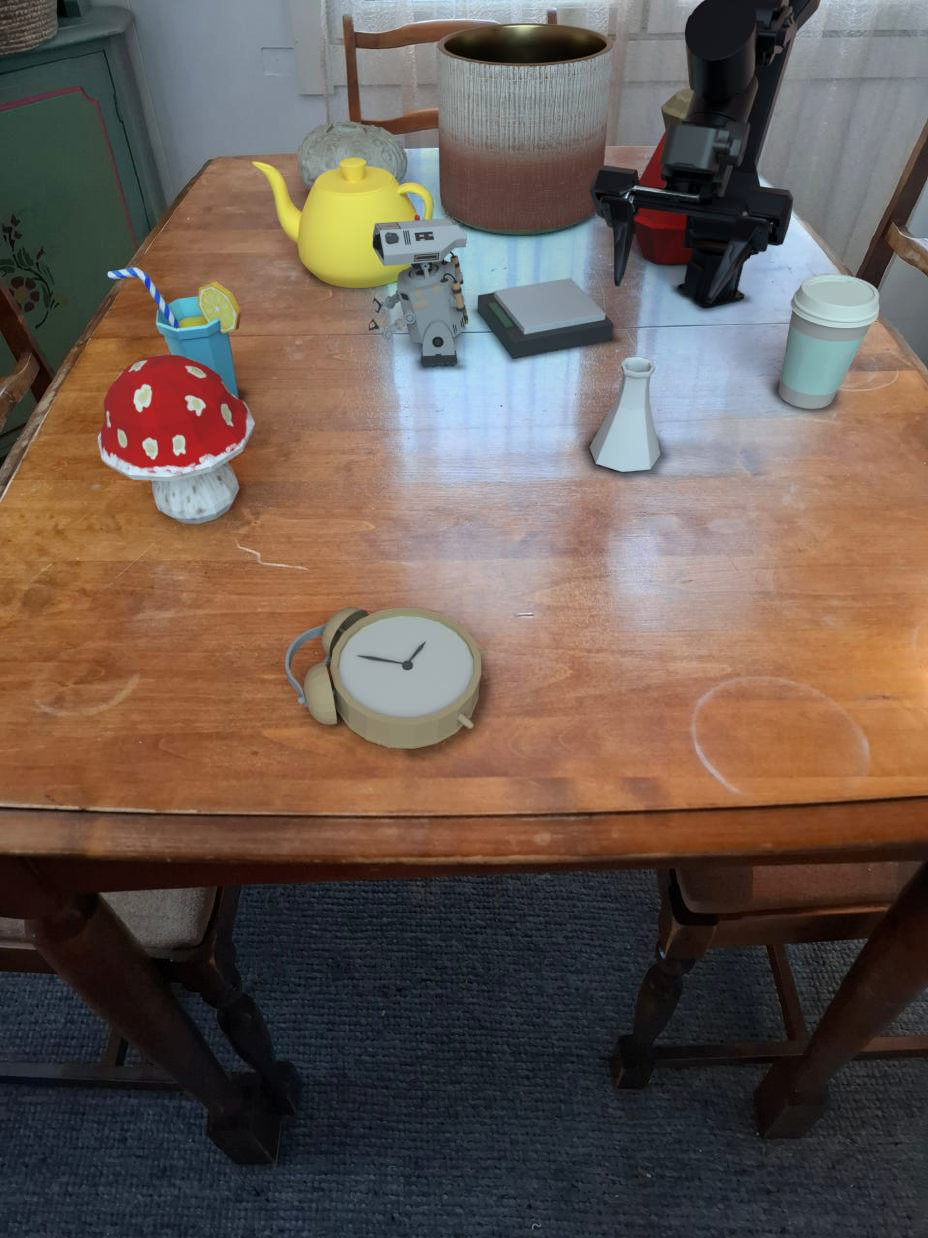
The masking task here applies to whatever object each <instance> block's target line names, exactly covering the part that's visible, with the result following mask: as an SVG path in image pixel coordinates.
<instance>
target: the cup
mask: <svg viewBox="0 0 928 1238" xmlns="http://www.w3.org/2000/svg"><path fill="white" fill-rule="evenodd" d="M107 277H108V279H109V280H110V281H112V280H119V279H128V278H129V279H130V278H135V277H136V278H137V279H139V280H141V282H142V283H143V285H144V286H145V288H146V290H147V291H148V292H149V294H150V295H151V297H152V298H153V300H154V301H155V303H156V305H157V306H158V309H157V310H156V317H155V320H156V321H155V326H156V328H157V330H158V332H159V334H161V335H163V338H164V340H165V343H166V345H167V347H168V350H169V353H170V355H179V356H183V357H186V358H190V359H192V360H194V361H197V362H199V363H201V364H203V365H206V366H207V367H209V368H210V369H212V370H213V371H214V372H216V373H217V374H219V375H220V377H221V379H222V380H223V382H224V383H225V385H226V386H227V388H228V389H229V391H230V392H231V393H232V394H234V395H235V396H236V397H238V398H239V389H238V384H237V383H238V382H237V378H236V370H235V364H234V358H233V352H232V346H231V338H230V334H229V333H231V332H235V331H238V330H240V324H241V317H242V310H241V309H240V306H239V304H238V302H237V301H236V298H235V297H234V294H233V293H232V292H231V290H229V289H227V288H226V287H224V286H222V284H219V282H217V281H213V282H210V283H208V284H204V285H202V286H200V287H198V293H197V294H198V295H197V296H190V297H182V298H177V299H175V300H174V301H171V302H169V303H167V302H166V300H165V299H164V297H163V296H162V294H161V293H160V291H159V290H158V288H157V286H156V285H155V284H154V282H153V280H152V279H151V277H150V276H149V275H148V274H147V273H146V272H145V271H144V270H141V269H140V268H139V267H137V266H136V267H130V268H123V269H117V270H111V271H107ZM239 399H240V398H239Z"/></svg>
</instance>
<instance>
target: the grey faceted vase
mask: <svg viewBox="0 0 928 1238" xmlns="http://www.w3.org/2000/svg"><path fill="white" fill-rule="evenodd" d="M620 368H621V371H622V375H621V383H620V386H619V389H618V391H617V395H616V397H615V400H614V401H613V403H612V406H611V407H610V410H609V411H608V413H607V414H606V417H605V419H604V421H603V423H602V424H601V426H600V427H599V429H598V431H597V433H596V435H595V436H594V438H593V440H592V442H591V443H590V445H589V450H590V452H591V454H592V457H593V460H594V462H595V464H596V465H598V466H601V467H605V468H609V469H612V470H615V471H618V472H621V473H625V472H636V471H647V470H651V469H652V468H653V467H654V466H655V463H656V462H657V460H658V459H659V457H660V456H661V450H660V445H659V441H658V437H657V433H656V428H655V424H654V418H653V413H652V408H651V402H650V383H651V377H652V375H653V373H654V372H655V370H656V365H655V363H654V361H653V359H650V358H646V357H644V356H629V357H628V356H627V357H625V358H624V359H623V361H622V362H621V363H620Z"/></svg>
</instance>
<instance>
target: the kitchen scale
mask: <svg viewBox="0 0 928 1238" xmlns="http://www.w3.org/2000/svg"><path fill="white" fill-rule="evenodd" d="M597 304H598V303H596V302H595V301H594V300H593V299H592V298H591V297H590V296H589V295H588V294H587V293H586V292H585V291H584V290H583V289H582V288H581V287H580V286H579V285H578V284H577V283H576V282H575V281H574V280H573V278H571V277H567V278H562V279H561V278H560V279H555V280H550V281H549V280H548V281H543V282H539V283H533V284H526V285H520V286H515V287H508V288H503V289H496V290H494V291H493V292H488V293H483V294H477V313H478V314H479V315H480V317H481V318H482V319H483V321H484V322H485V324H487V326H488V327H489V329H490V330H491V331H492V333H493V334H494V336H495V337H496V338H497V339H498V340H499V342H500V343H501V345H502V346H503V347H504V349H505V350H506V351H507V352H508V354H509V355H510V356H511V358H512V359H513V360H515V359H520V358H526V357H532V356H535V355H542V354H547V353H552V352H557V351H562V350H567V349H571V348H577V347H584V346H589V345H594V344H599V343H604V342H610V341H612V339H613V331H614V323H613V321H612V320H611V319H610V318H609V317H608V316H607V315H606V313H605V311H603V309H602V308H600V306H599V305H597Z"/></svg>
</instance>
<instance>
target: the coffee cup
mask: <svg viewBox="0 0 928 1238" xmlns="http://www.w3.org/2000/svg"><path fill="white" fill-rule="evenodd" d="M879 299H880V292H879V291H878V289H877V288H876V287H875V286H874V285H873V284H872V283H870V282H868V281H866V280H864V279H861V278H858V277H856V276H851V275H846V274H837V273H824V274H823V273H822V274H816V275H813V276H809V277H808V278H806V279H804V280H803V281H802V283H801V285H800V286H799V288H798V289H797V290H796V291H795V292H794V294H793V297H792V298H791V300H790V307H791V315H790V319H789V327H788V333H787V338H786V344H785V350H784V356H783V361H782V367H781V372H780V379H779V385H778V394H779V397H780V398H781V399H782V400H783V401H784V402H786V404H789V405H791V406H793V407H797V408H800V409H808V410H816V409H823V408H825V407H828V406H829V405H830V404H831V403H832V402H833V400H834V398H835V396H836V394H837V392H838V390H839V389H840V386H841V384H842V382H843V380H844V379H845V377H846V375H847V372H848V371H849V369H850V367H851V365H852V363H853V362H854V359H855V357H856V355H857V353H858V351H859V349H860V347H861V345H862V343H863V341H864V339H865V337H866V336H867V333H868V331H869V329H870V327H871V325H872V324H873V323H875V321H876V320H877V319H878V318H879V311H880V304H879V303H880V302H879Z"/></svg>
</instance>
